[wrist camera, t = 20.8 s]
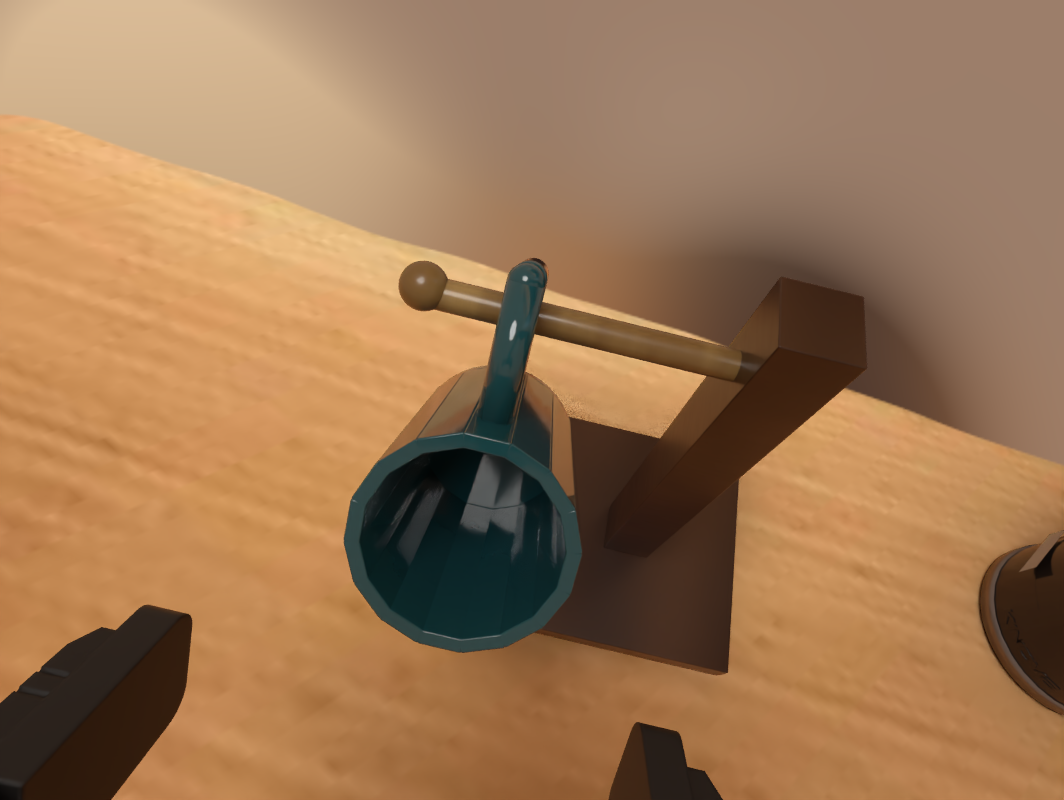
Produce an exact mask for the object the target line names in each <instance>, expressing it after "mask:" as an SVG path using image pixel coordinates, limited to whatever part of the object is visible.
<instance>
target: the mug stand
mask: <svg viewBox="0 0 1064 800" xmlns="http://www.w3.org/2000/svg"><path fill="white" fill-rule="evenodd" d="M399 292H400V295H401V297H402V299H403V300H404V302H405V303H406V304H407V305H408V306H410V307H411V308H413V309H415V310H418V311H430V310H438V311H442V312H446V313H450V314H454V315H458V316H462V317H467V318H471V319H475V320H479V321H483V322H487V323H491V324H495V325H497V321H498V316H499V312H500V307H501V303H502V299H503V294H504V293H503V292H499V291H495V290H491V289H487V288H483V287H479V286H475V285H471V284H466V283H462V282H458V281H454V280H450V279H448V278H447V276H446V274H445V272H444V271H443V270H442V269H441V268H440V267H439V266H438V265H436V264H434V263H432V262H429V261H418V262H414V263H412V264H410V265H409V266H407V267H406V268H405V269H404V271H403V272H402V274H401V276H400V279H399ZM534 334H536V335H540V336H545V337H549V338H553V339H557V340H561V341H565V342H569V343H573V344H577V345H582V346H586V347H590V348H594V349H598V350H602V351H606V352H610V353H614V354H619V355H623V356H627V357H631V358H635V359H639V360H643V361H647V362H651V363H656V364H660V365H664V366H668V367H672V368H676V369H680V370H684V371H688V372H692V373H697V374H701V375H705V376H706V378H705V379H704V380H703V382H702V383H701V384H700V386H699V387H698V388H697V390H696V391H695V392H694V394H693V395H692V397H691V398H690V399H689V401H688V402H687V403H686V405H685V406H684V407H683V409H682V410H681V411H680V413H679V414H678V415H677V417H676V418H675V419H674V421H673V422H672V423H671V425H670V426H669V427H668V429H667V430H666V431H665V433H664V434H663V435H662V437H661V438H660V439H659V438H655V437H651V436H647V435H643V434H638V433H634V432H630V431H626V430H622V429H618V428H614V427H609V426H605V425H601V424H597V423H593V422H589V421H585V420H580V419H576V418H572V417H569V420H570V424H571V429H572V437H573V444H574V453H575V465H576V477H577V490H578V502H579V514H580V527H581V539H582V558H581V561H580V565H579V568H578V572H577V575H576V579H575V583H574V586H573V590H572V593H571V594H570V596H569V598H568V599H567V600H566V601H565V602H564V604H563V605H562V606H561V607H560V608H559V610H558V611H557V612H556V613H555V614H554V616H553V617H552V618H551V619H550V620H549V622H548V623H547V624H546V625H545V626H544V627H543V628H542V629H540V630H538V631H536V632H534V633H538V634H543V635H547V636H551V637H555V638H560V639H564V640H568V641H572V642H577V643H581V644H585V645H589V646H594V647H598V648H602V649H606V650H611V651H615V652H619V653H623V654H628V655H632V656H636V657H640V658H645V659H649V660H653V661H657V662H662V663H666V664H670V665H674V666H679V667H683V668H687V669H691V670H696V671H700V672H704V673H708V674H713V675H720V674H725V673H728V659H729V642H730V624H731V606H732V589H733V571H734V553H735V536H736V518H737V500H738V483H739V478H740V477H741V476H743V475H744V474H745V473H746V472H747V471H748V470H750V469H751V468H752V467H753V466H754V465H755V464H757V463H758V462H759V461H760V460H761V459H762V458H764V457H765V456H766V455H767V454H768V453H769V452H771V451H772V450H773V449H774V448H775V447H776V446H778V445H779V444H780V443H781V442H782V441H783V440H785V439H786V438H787V437H788V436H789V435H790V434H792V433H793V432H794V431H795V430H796V429H797V428H799V427H800V426H801V425H802V424H803V423H804V422H806V421H807V420H808V419H809V418H810V417H811V416H813V415H814V414H815V413H816V412H817V411H818V410H820V409H821V408H822V407H823V406H824V405H825V404H827V403H828V402H829V401H830V400H831V399H832V398H834V397H835V396H836V395H837V394H838V393H839V392H841V391H842V390H843V389H844V388H845V387H846V386H848V385H849V384H850V383H851V382H852V381H853V380H854V379H856V378H857V377H858V376H859V375H860V374H862V373H863V372H864V371H865V370H866V369H867V354H866V333H865V311H864V297H862V296H859V295H854V294H851V293H847V292H842V291H838V290H834V289H830V288H826V287H822V286H818V285H814V284H810V283H806V282H802V281H798V280H794V279H790V278H786V277H780V278H779V280H778V281H777V282H776V284H775V285H774V286H773V288H772V289H771V290H770V292H769V293H768V294H767V296H766V297H765V299H764V300H763V301H762V302H761V304H760V305H759V307H758V308H757V309H756V311H755V312H754V313H753V315H752V316H751V317H750V319H749V320H748V321H747V323H746V324H745V325H744V327H743V328H742V329H741V331H740V332H739V333H738V335H737V336H736V337H735V339H734V340H733V341H732V343H731V344H730V345H729V347H724V346H720V345H716V344H712V343H708V342H704V341H700V340H696V339H692V338H687V337H683V336H679V335H675V334H671V333H667V332H663V331H659V330H655V329H651V328H647V327H642V326H638V325H634V324H630V323H626V322H622V321H618V320H614V319H610V318H606V317H602V316H597V315H593V314H589V313H585V312H581V311H577V310H573V309H569V308H565V307H561V306H556V305H552V304H548V303H544V302H542V304H541V309H540V313H539V317H538V321H537V325H536V329H535V333H534Z"/></svg>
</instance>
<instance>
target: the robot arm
mask: <svg viewBox="0 0 1064 800" xmlns="http://www.w3.org/2000/svg"><path fill="white" fill-rule="evenodd" d="M1063 533H1064V530H1062V531H1059V532H1056V533H1053V534H1050V535H1049V536H1048V537H1047V538H1046V539H1045V541H1044V542H1043V543H1041V544H1035V545H1029V546H1025V547H1022V548H1019V549H1016V550H1013V551H1010V552H1008V553H1005V554H1004V555H1002V556H1000V557H999V558H998V559H997V560H996V561H995V562H994V563H993V564H992V565H991V566H990V568H989V569H988V571H987V573H986V575H985V577H984V580H983V583H982V588H981V596H980V606H981V615H982V620H983V624H984V628H985V631H986V634H987V636H988V639H989V641H990V644H991V646H992V648H993V650H994V652H995V654H996V655H997V657H998V659H999V660H1000V662H1001V663H1002V665H1003V666H1004V668H1005V669H1006V671H1007V672H1008V673H1009V674H1010V676H1011V677H1012V678H1013V679H1014V680H1015V681H1016V682H1017V683H1018V685H1019V686H1020V687H1021V688H1022V689H1023V690H1025V691H1026V692H1027V693H1028V694H1029V695H1030V696H1032V697H1033V698H1034V699H1035V700H1037V701H1038V702H1040V703H1041V704H1043V705H1044V706H1046V707H1047V708H1049V709H1051V710H1053V711H1055V712H1057V713H1059V714H1061V715H1064V536H1062V537H1061V535H1062V534H1063ZM191 633H192V618H191V616H190V615H189V614H186V613H181V612H177V611H173V610H169V609H165V608H160V607H156V606H152V605H144V606H142V607H140V608H139V609H138V610H137V611H136V612H135V613H134V614H133V615H132V616H130V617H129V618H128V619H127V620H126V621H125V622H124V623H123V624H122V625H121V626H120V627H119V628H118V629H117V630H112V629H108V628H103V627H101V628H99V629H97V630H95V631H93V632H91V633H89V634H87V635H85V636H83V637H81V638H79V639H77V640H75V641H73V642H71V643H69V644H67V645H66V646H65V647H64V648H62V649H61V650H60V651H59V652H58V653H57V654H56V655H55V656H53V657H52V658H51V659H50V660H49V661H48V662H47V663H45V664H44V665H43V666H42V667H41V670H40V671H39V672H35V673H34V674H33V675H32V676H31V677H30V678H28V679H27V680H26V681H25V682H24V683H23V684H22V685H20V687H19V689H18V691H17V692H15V691H14V692H13V693H11V694H10V695H9V696H8V697H7V698H6V699H5V700H3V701H2V702H1V703H0V800H111V799H112V798H113V797H114V795H115V794H116V793H117V791H118V790H119V789H120V788H121V786H122V785H123V784H124V782H125V781H126V780H127V778H128V777H129V776H130V774H131V773H132V772H133V771H134V769H135V768H136V767H137V765H138V764H139V763H140V761H141V760H142V759H143V758H144V756H145V755H146V754H147V752H148V751H149V750H150V748H151V747H152V746H153V744H154V743H155V742H156V741H157V739H158V738H159V737H160V735H161V734H162V733H163V731H164V730H165V729H166V727H167V726H168V725H169V723H170V722H171V721H172V719H173V717H174V716H175V714H176V712H177V710H178V708H179V706H180V703H181V701H182V698H183V696H184V692H185V688H186V683H187V673H188V663H189V653H190V643H191ZM609 800H723V799H722V798H721V796H720V794H719V793H718V791H717V790H716V788H715V787H714V785H713V783H712V782H711V780H710V779H709V777H708V776H707V774H706V772H705V771H702V770H698V769H693V768H689V767H687V763H686V759H685V754H684V749H683V744H682V740H681V736H680V734H679V733H678V732H677V731H673V730H669V729H664V728H660V727H656V726H652V725H648V724H643V723H639V722H636V723H635V724H634V726H633V728H632V730H631V733H630V736H629V738H628V741H627V744H626V747H625V750H624V753H623V755H622V758H621V761H620V764H619V767H618V769H617V772H616V775H615V778H614V781H613V784H612V787H611V790H610V795H609Z"/></svg>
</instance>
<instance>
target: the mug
mask: <svg viewBox="0 0 1064 800" xmlns="http://www.w3.org/2000/svg"><path fill="white" fill-rule="evenodd" d="M548 275H549V272H548V268H547V266H546V265H545V263H544V262H543V261H541V260H540V259H537V258H530V259H527V260H525V261H523V262H522V263H520V264H518V265H517V266H515V267H514V268H513V269H512V270H511V271H510V273H509V274H508V277H507V281H506V285H505V290H504V294H503V299H502V303H501V307H500V312H499V316H498V321H497V325H496V330H495V334H494V338H493V343H492V347H491V352H490V356H489V360H488V365H487V366H480V367H475V368H471V369H468V370H466V371H463V372H461V373H459V374H457V375H455V376H453V377H452V378H450V379H449V380H447V381H446V382H445V383H444V384H442V385H441V386H439V387H438V388H437V389H436V390H435V391H434V393H433V394H432V395H431V396H430V398H429V399H428V400H427V401H426V402H425V404H424V405H423V406H422V407H421V409H420V410H419V411H418V412H417V413H416V415H415V416H414V417H413V418H412V420H411V421H410V422H409V423H408V424H407V426H406V427H405V428H404V429H403V431H402V432H401V433H400V434H399V435H398V437H397V438H396V439H395V440H394V442H393V443H392V444H391V445H390V446H389V448H388V449H387V450H386V451H385V453H384V454H383V455H382V456H381V457H380V459H379V460H378V461H377V462H376V464H375V465H374V466H373V468H372V469H371V471H370V472H369V474H368V475H367V476H366V478H365V479H364V481H363V482H362V483H361V485H360V486H359V488H358V489H357V491H356V492H355V493H354V495H353V496H352V499H351V502H350V507H349V512H348V518H347V523H346V529H345V534H344V546H345V550H346V554H347V558H348V562H349V566H350V570H351V574H352V579H353V582H355V583H354V584H355V586H356V587H357V588H358V590H359V591H360V592H361V594H362V595H363V597H364V598H365V599H366V601H367V602H368V603H369V605H370V606H371V608H372V609H373V610H374V612H375V613H376V614H377V616H378V617H379V618H380V619H381V620H382V621H384V622H386V623H387V624H389V625H390V626H392V627H393V628H395V629H396V630H398V631H399V632H401V633H402V634H404V635H406V636H407V637H409V638H410V639H412V640H413V641H415V642H418V643H420V644H424V645H429V646H433V647H437V648H441V649H446V650H450V651H454V652H459V653H460V652H461V653H465V652H474V651H482V650H490V649H499V648H504V647H507V646H509V645H511V644H513V643H515V642H517V641H519V640H521V639H523V638H524V637H526V636H528V635H530V634H532V633H534V632H536V631H538V630H540V629H542V628H543V627H544V626H545V625H546V624H547V623H548V622H549V620H550V619H551V618H552V617H553V616H554V614H555V613H556V612H557V611H558V610H559V608H560V607H561V606H562V605H563V604H564V602H565V601H566V600H567V599H568V598H569V596H570V594H571V593H572V590H573V586H574V583H575V579H576V575H577V572H578V568H579V565H580V561H581V558H582V539H581V527H580V514H579V502H578V490H577V477H576V465H575V453H574V444H573V437H572V429H571V424H570V420H569V417H568V415H567V412H566V410H565V408H564V406H563V404H562V402H561V401H560V400H559V398H558V397H557V395H556V394H555V393H554V392H553V391H552V390H551V389H550V388H549V387H548V386H547V385H546V384H545V383H543V382H542V381H541V380H539V379H538V378H536V377H535V376H533V375H531V374H529V373H527V372H525V371H526V367H527V363H528V359H529V355H530V351H531V346H532V342H533V338H534V333H535V329H536V325H537V321H538V317H539V313H540V309H541V304H542V301H543V297H544V293H545V288H546V284H547V280H548Z"/></svg>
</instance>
